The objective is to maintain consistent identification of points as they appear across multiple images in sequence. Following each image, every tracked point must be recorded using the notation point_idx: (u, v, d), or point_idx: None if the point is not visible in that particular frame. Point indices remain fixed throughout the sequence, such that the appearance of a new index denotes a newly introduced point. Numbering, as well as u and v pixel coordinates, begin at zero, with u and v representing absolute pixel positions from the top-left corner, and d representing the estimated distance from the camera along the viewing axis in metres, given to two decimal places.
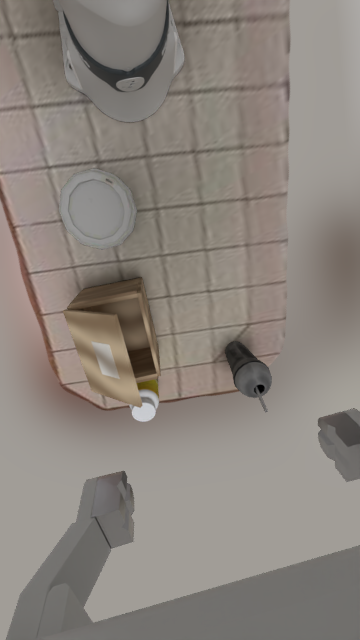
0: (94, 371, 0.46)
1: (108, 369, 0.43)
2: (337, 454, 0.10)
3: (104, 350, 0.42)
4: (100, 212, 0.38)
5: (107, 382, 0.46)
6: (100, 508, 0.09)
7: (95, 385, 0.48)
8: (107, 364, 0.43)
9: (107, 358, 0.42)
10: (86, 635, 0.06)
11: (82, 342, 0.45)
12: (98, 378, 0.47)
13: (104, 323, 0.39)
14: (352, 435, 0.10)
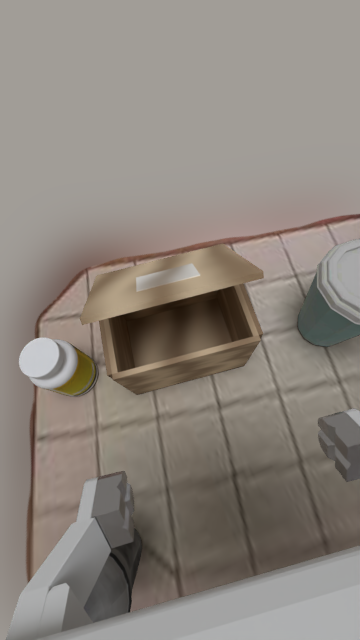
0: (136, 272, 0.31)
1: (149, 280, 0.27)
2: (337, 454, 0.10)
3: (185, 273, 0.27)
4: None
5: (121, 283, 0.28)
6: (100, 508, 0.09)
7: (109, 276, 0.32)
8: (159, 278, 0.27)
9: (171, 277, 0.26)
10: (86, 635, 0.06)
11: (182, 259, 0.31)
12: (124, 276, 0.30)
13: (237, 267, 0.25)
14: (352, 435, 0.10)
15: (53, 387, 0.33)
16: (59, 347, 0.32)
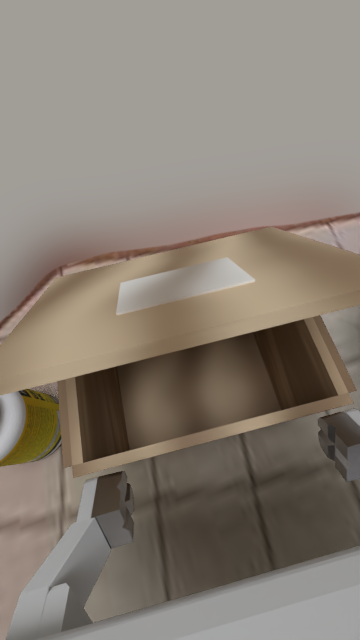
0: (122, 273, 0.17)
1: (145, 289, 0.13)
2: (337, 454, 0.10)
3: (219, 275, 0.13)
4: None
5: (91, 294, 0.15)
6: (100, 507, 0.09)
7: (75, 279, 0.18)
8: (165, 286, 0.13)
9: (190, 283, 0.13)
10: (86, 635, 0.06)
11: (204, 251, 0.18)
12: (101, 280, 0.16)
13: (337, 264, 0.12)
14: (352, 435, 0.10)
15: None
16: None
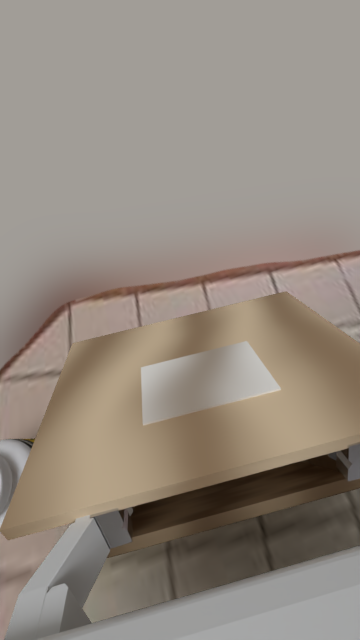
0: (140, 348, 0.17)
1: (168, 385, 0.13)
2: (338, 454, 0.10)
3: (242, 374, 0.13)
4: None
5: (112, 382, 0.15)
6: None
7: (93, 351, 0.18)
8: (188, 383, 0.13)
9: (214, 383, 0.13)
10: (86, 635, 0.06)
11: (221, 323, 0.18)
12: (119, 358, 0.17)
13: None
14: None
15: None
16: (4, 472, 0.18)
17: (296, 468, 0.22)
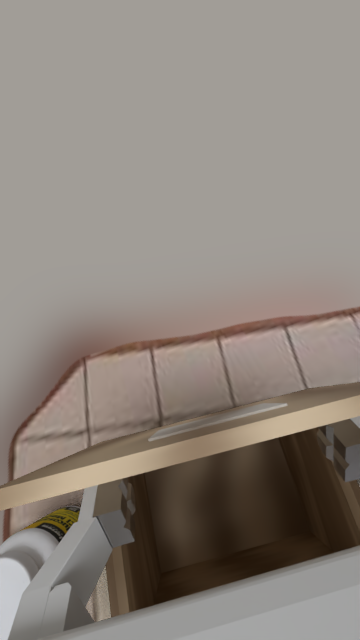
0: (162, 428, 0.17)
1: (180, 427, 0.13)
2: (335, 454, 0.10)
3: (252, 409, 0.13)
4: None
5: (128, 440, 0.15)
6: (101, 507, 0.09)
7: (118, 439, 0.18)
8: (199, 422, 0.13)
9: (224, 416, 0.13)
10: (86, 635, 0.06)
11: (243, 407, 0.18)
12: (141, 434, 0.17)
13: None
14: (350, 435, 0.10)
15: None
16: None
17: (318, 555, 0.22)
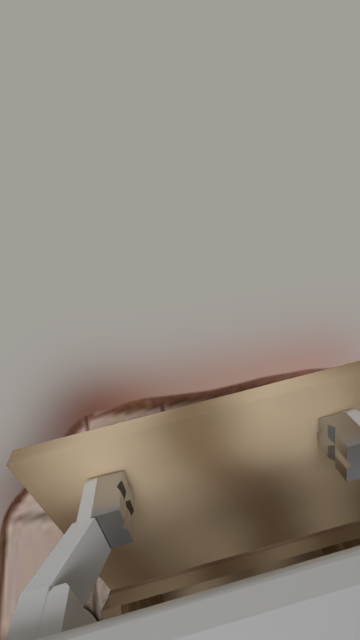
0: None
1: None
2: (337, 454, 0.10)
3: None
4: None
5: None
6: (100, 507, 0.09)
7: None
8: None
9: None
10: (86, 635, 0.06)
11: None
12: None
13: None
14: (352, 435, 0.10)
15: None
16: None
17: None
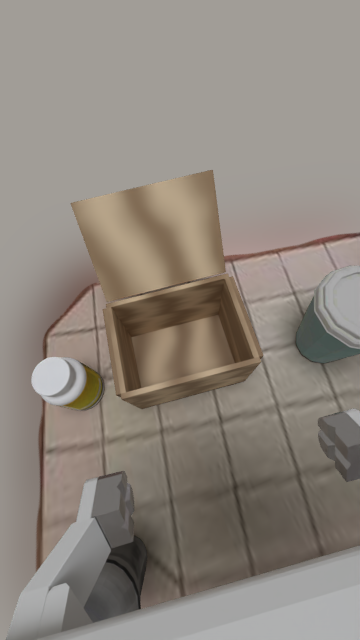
0: None
1: None
2: (337, 454, 0.10)
3: None
4: None
5: None
6: (100, 507, 0.09)
7: None
8: None
9: None
10: (86, 635, 0.06)
11: None
12: None
13: None
14: (352, 435, 0.10)
15: (63, 404, 0.35)
16: (69, 366, 0.34)
17: None
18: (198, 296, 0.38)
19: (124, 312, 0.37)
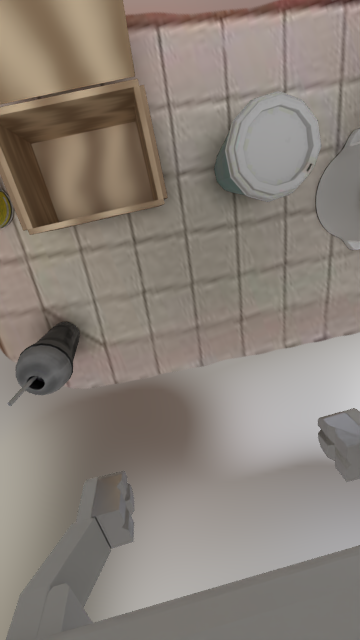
0: None
1: None
2: (337, 454, 0.10)
3: None
4: (273, 152, 0.31)
5: None
6: (99, 508, 0.09)
7: None
8: None
9: None
10: (86, 635, 0.06)
11: None
12: None
13: None
14: (352, 435, 0.10)
15: None
16: None
17: None
18: (104, 104, 0.31)
19: (10, 122, 0.30)
